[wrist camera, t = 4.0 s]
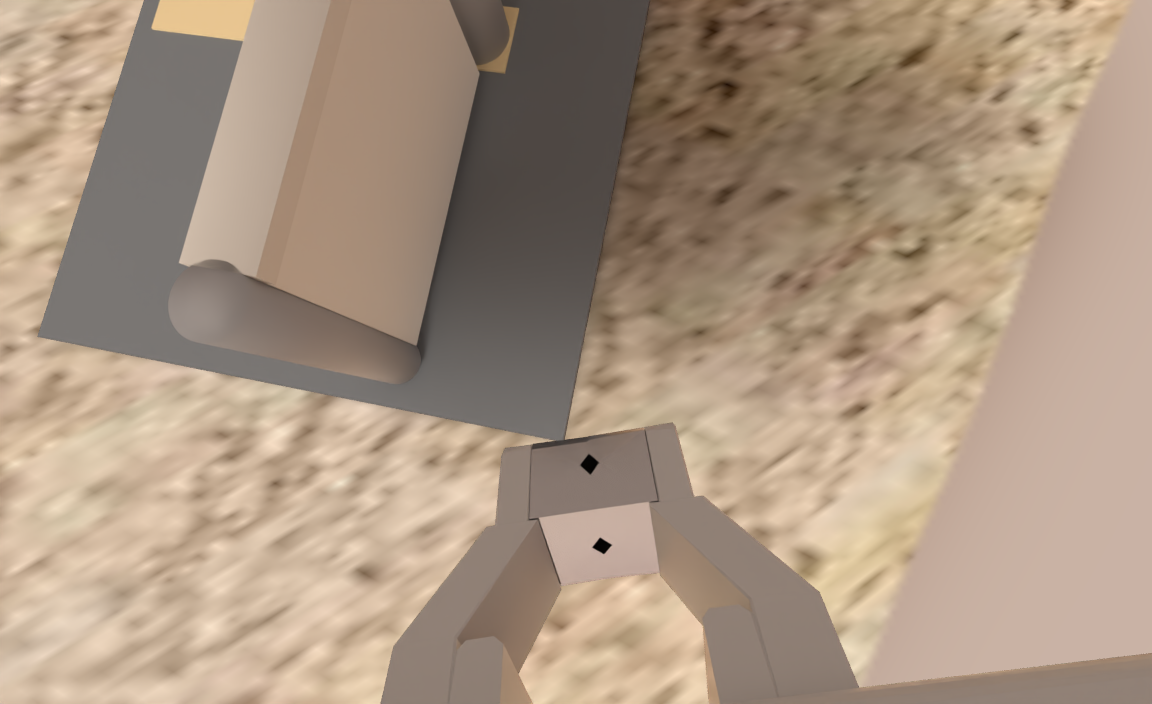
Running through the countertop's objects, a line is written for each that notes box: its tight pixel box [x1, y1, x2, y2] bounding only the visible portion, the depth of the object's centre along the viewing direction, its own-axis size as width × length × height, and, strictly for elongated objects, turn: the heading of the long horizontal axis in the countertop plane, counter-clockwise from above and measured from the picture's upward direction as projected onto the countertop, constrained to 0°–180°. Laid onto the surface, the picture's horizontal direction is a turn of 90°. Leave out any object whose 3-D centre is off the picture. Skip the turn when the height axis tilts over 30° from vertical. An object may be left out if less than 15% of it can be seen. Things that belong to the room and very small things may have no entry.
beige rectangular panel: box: [168, 0, 480, 384], centre depth 15 cm, size 2×11×9 cm, turn 169°
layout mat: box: [37, 0, 650, 441], centre depth 22 cm, size 20×25×1 cm
